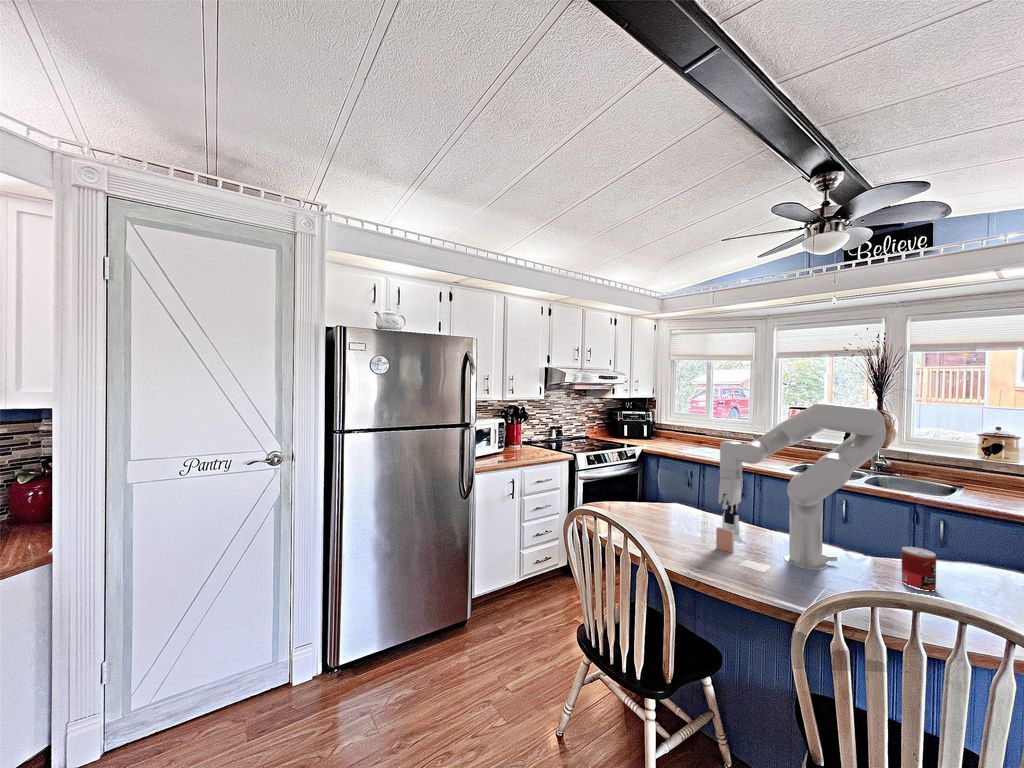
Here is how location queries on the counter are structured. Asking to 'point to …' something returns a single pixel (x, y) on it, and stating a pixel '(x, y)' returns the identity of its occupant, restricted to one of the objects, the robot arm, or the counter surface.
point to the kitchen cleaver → (738, 539)
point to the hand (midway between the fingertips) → (730, 522)
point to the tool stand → (755, 566)
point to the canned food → (919, 568)
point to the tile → (725, 539)
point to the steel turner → (732, 526)
